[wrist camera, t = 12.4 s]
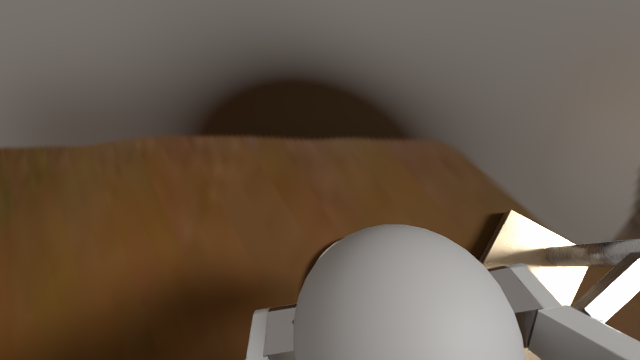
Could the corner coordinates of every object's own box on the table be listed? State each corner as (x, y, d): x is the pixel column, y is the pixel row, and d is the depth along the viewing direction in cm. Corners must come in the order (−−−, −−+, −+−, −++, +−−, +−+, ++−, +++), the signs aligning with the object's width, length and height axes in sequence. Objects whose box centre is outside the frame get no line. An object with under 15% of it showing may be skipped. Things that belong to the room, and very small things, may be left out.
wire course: (431, 348, 22) (481, 402, 13) (504, 212, 24) (588, 183, 15) (511, 404, 21) (624, 506, 12) (581, 255, 23) (722, 248, 14)
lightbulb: (459, 289, 16) (665, 356, 5) (389, 385, 15) (466, 681, 5) (368, 217, 17) (387, 156, 7) (300, 301, 17) (205, 379, 6)
